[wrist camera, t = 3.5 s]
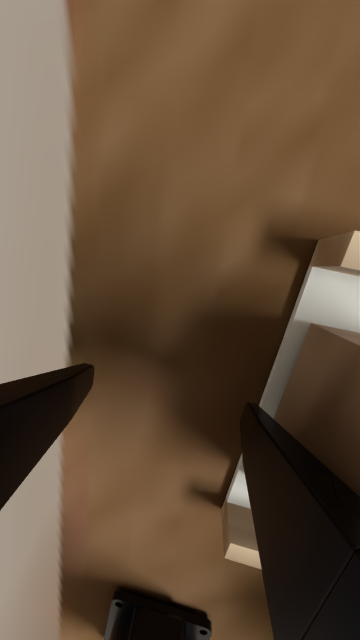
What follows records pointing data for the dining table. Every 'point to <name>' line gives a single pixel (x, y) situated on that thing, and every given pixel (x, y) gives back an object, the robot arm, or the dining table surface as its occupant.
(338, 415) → the paddle block
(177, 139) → the dining table surface
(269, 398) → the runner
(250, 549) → the lane rails
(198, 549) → the dining table surface
